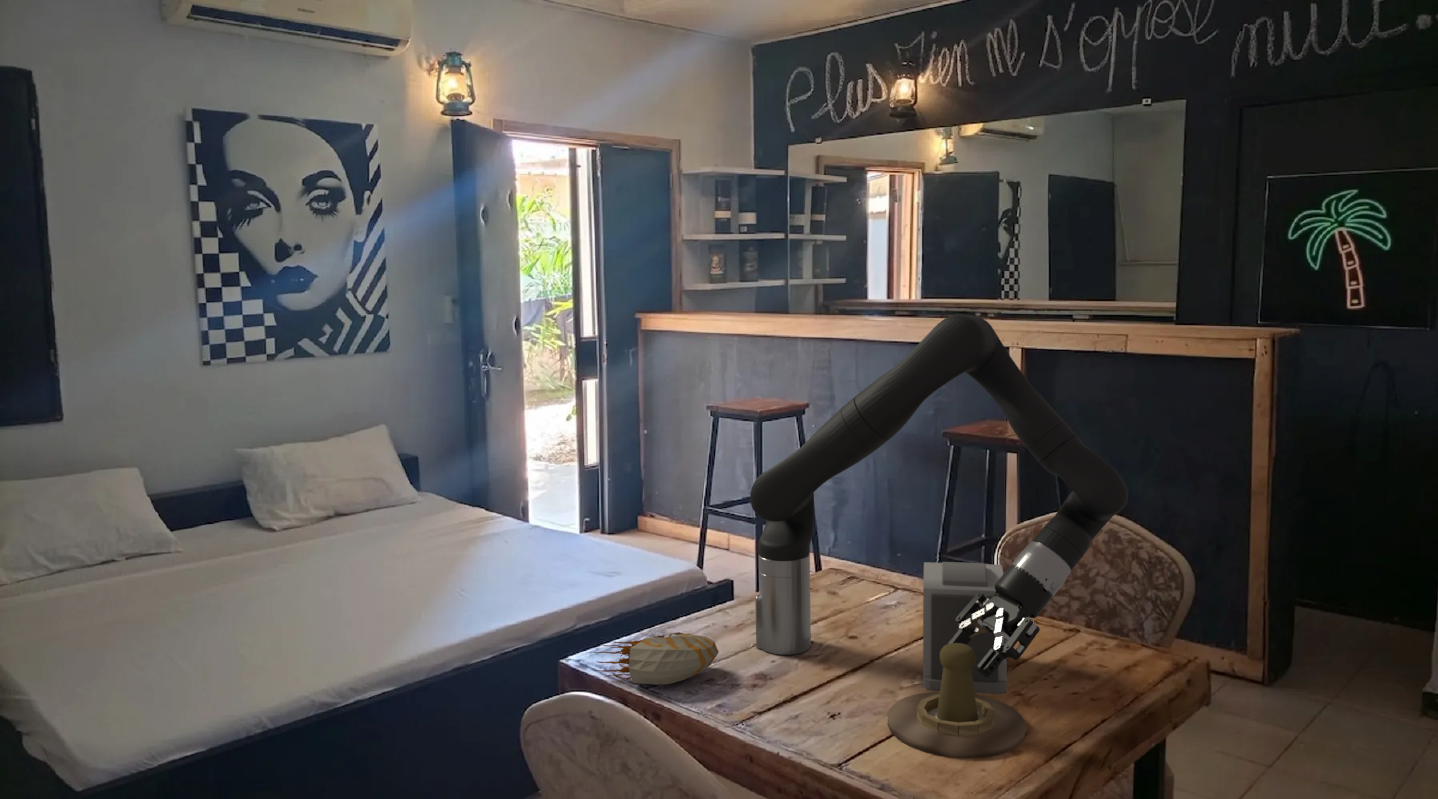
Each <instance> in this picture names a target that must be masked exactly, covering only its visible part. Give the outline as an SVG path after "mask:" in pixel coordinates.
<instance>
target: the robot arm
mask: <svg viewBox="0 0 1438 799" xmlns="http://www.w3.org/2000/svg"><path fill="white" fill-rule="evenodd" d="M964 373H966V374H968V375H969V376H970V377H971V378H973V380H974V381H976V382H977V384H978V385H979V384H980V386H981V387H983V389H984V390H985V391H986V392H987V393H988V394H989V395H990V397H991V399H993V401H994V402H995V403H996V405H997V406H998V408H1000V411H1001V412H1002V414H1003V415H1004V417H1005V419H1006V420H1007V422H1008V424H1009V426H1010V427H1011V429H1012V430H1013V432H1014V433H1015V435H1016V436H1017V438H1018V439H1019V440H1020V442H1021V443H1022V444H1023V445H1024V447H1025V448H1026V449H1027V450H1028V451H1029V453H1030V454H1031V455H1032V456H1033V457H1034V459H1036V461H1037V462H1038V463H1039V464H1040V465H1041V467H1043V469H1044V470H1046V471H1047V473H1049V474H1051V475H1053V476H1058V477H1059V478H1060V479H1061V480H1062V481H1063V482H1064V483H1065V484H1066V485H1067V486H1068V487H1069V488H1070V489H1071V490H1072V491H1071V492H1070V493H1069V495H1068V496H1067V497H1066V499H1065V501H1064V502H1063V503H1062V505H1061V506H1060V508H1058V510H1057V512H1056V514H1055V515H1054V516H1053V517H1051V519H1050V520H1049V521H1048V522H1047V523H1045V525H1044V526H1043V527H1042V528H1041V530H1040V531H1039V533H1037V534H1036V536H1035V537H1034V539H1033V540H1032V541H1031V542H1030V543H1029V544H1028V545H1027V546H1026V547H1025V548H1024V549H1022V551H1020V553H1019V554H1018V555H1017V557H1016V558H1015V559H1014V561H1012V563H1011V564H1010V565H1009V566H1008V568H1007V569H1006V570H1005V571H1004V572H1003V575H1002V577H1001V578H1000V579H999V580H998V581H997V583H996V584H995V590H996V594H995V595H994V596H993V597H992V598H990V599H988V598H987V597H986V596H985V595H984V594H983V593H982V592H978V593H977V594H976V595H975V597H974V598H973V599H972V600H971V601H970V602H969V603H968V605H967V606H966V607H965V608H964V609H963V610H962V611H961V613H960V614H959V615H958V616H957V617H956V621H957V622H958V624H959V630H958V632H957V633H956V634H955V635H954V636H953V638H952V639H951V640H950V641H949V643H948V644H950V643H961V644H966V645H967V644H968V643H969V641H970V640H971V637H973V636H975V635H977V634H979V633H987V632H991V633H993V634H994V635H995V643H994V650H993V649H990V651H989V652H988V653H987V654H986V656H985V657H984V658H983V659H982V661H981V662H980V663H979V664H978V666H977V670H978V671H979V672H980V673H981V674H982V675H983V676H985V677H989V676H990V675H991V674H992V673H993V672H994V671H995V669H997V667H998V666H999V665H1000V664H1001V662H1002V661H1003V660H1004V659H1007V660H1008V659H1013V660H1014V661H1017V660H1019V659H1020V658H1021V656H1022V655H1023V654H1024V653H1025V651H1026V650H1027V648H1028V647H1029V646H1030V645H1031V643H1032V642H1033V640H1034V639H1035V638H1036V636H1037V634H1039V632H1040V631H1041V629H1040V626H1038V625H1037V623H1035V622H1034V620H1032V619H1035V618H1037V617H1038V616H1039V615H1040V614H1041V612H1042V611H1043V610H1044V609H1045V607H1046V606H1047V605H1048V604H1049V603H1050V601H1051V600H1052V599H1053V597H1054V596H1055V595H1056V594H1057V592H1058V591H1059V590H1060V588H1061V587H1062V586H1063V585H1064V584H1065V582H1066V580H1067V578H1068V577H1069V575H1070V573H1071V572H1072V570H1074V568H1075V567H1076V566H1077V564H1078V563H1079V562H1080V561H1081V559H1082V558H1083V557H1084V556H1085V554H1086V553H1087V551H1088V549H1089V548H1090V546H1091V542H1092V541H1093V539H1095V537H1096V536H1097V535H1098V534H1099V533H1100V532H1101V531H1102V529H1103V528H1104V527H1105V526H1106V525H1107V523H1108V522H1109V521H1111V519H1112V518H1113V517H1114V516H1116V515H1117V514H1118V513H1120V512H1121V511H1122V510H1124V508H1125V507H1126V505H1127V503H1128V500H1129V490H1128V487H1127V485H1126V483H1125V481H1124V479H1123V478H1122V476H1121V475H1120V474H1119V472H1117V470H1116V469H1115V468H1113V467H1112V466H1111V465H1110V463H1108V462H1107V461H1106V460H1105V459H1103V458H1102V456H1100V455H1099V454H1097V453H1096V452H1095V451H1093V449H1091V448H1089V447H1088V446H1087V445H1085V444H1084V442H1083V441H1082V440H1081V439H1080V437H1079V436H1078V435H1077V434H1076V433H1075V432H1074V430H1073V429H1072V428H1071V427H1070V426H1069V425H1068V424H1067V423H1066V421H1064V419H1063V418H1062V417H1061V416H1060V415H1059V414H1058V412H1057V411H1056V410H1054V408H1053V407H1052V406H1051V405H1050V404H1049V403H1048V402H1047V401H1046V399H1045V398H1044V397H1043V396H1042V395H1041V394H1040V393H1039V392H1038V390H1037V389H1036V388H1035V387H1034V386H1033V384H1031V383H1030V381H1029V380H1028V379H1027V378H1026V376H1025V375H1024V373H1023V372H1022V371H1021V369H1020V368H1019V367H1018V365H1017V364H1016V362H1015V361H1014V359H1013V358H1012V356H1011V355H1010V354H1009V352H1008V350H1007V349H1006V347H1005V345H1004V343H1002V341H1001V339H1000V337H999V336H998V334H997V333H996V331H995V329H994V327H993V326H992V325H991V324H990V323H989V322H988V321H987V320H986V319H983V318H982V317H980V316H978V315H972V314H964V313H963V314H953V315H949V316H948V317H946V318H943V319H942V320H941V321H940V322H938V323H937V324H936V325H935V326H934V327H933V328H932V329H931V330H930V331H929V332H928V334H926V336H925V337H923V339H922V340H921V341H920V342H919V343H918V344H917V345H916V346H915V347H914V348H913V349H912V350H911V351H910V352H909V353H908V354H907V355H906V356H905V357H904V358H903V359H902V360H901V361H900V362H899V363H897V364H896V365H894V367H892V368H890V370H888V371H886V372H885V373H884V374H882V375H881V376H879V377H878V378H877V379H875V380H874V381H872V383H870V384H869V385H868V386H866V388H865V387H864V389H863V390H861V391H860V392H859V393H858V394H856V395H855V396H854V397H853V398H851V399H850V400H849V401H848V402H847V403H845V405H843V406H842V407H841V408H840V409H839V410H837V412H835V414H833V415H832V416H831V417H830V418H829V419H828V420H827V421H826V422H825V423H824V424H823V425H821V427H819V428H818V430H816V431H815V432H814V433H813V434H812V435H811V437H809V439H808V440H806V442H805V443H804V444H803V445H802V446H801V447H800V448H798V449H797V450H795V452H793V453H791V454H790V455H789V456H788V457H786V458H785V459H783V460H782V461H780V462H778V464H775V465H773V467H771V468H769V469H768V470H766V471H764V472H763V473H760V474H759V476H758V477H757V478H756V479H755V481H754V482H753V484H752V486H751V488H750V489H751V490H750V493H749V495H750V496H749V500H750V505H751V508H752V510H753V512H754V513H755V514H756V515H757V516H758V517H759V518H761V519H762V520H765V526H764V529H763V531H762V533H761V535H760V537H759V540H758V544H757V546H758V548H757V550H758V583H759V585H758V589H759V590H758V591H759V593H758V595H756V596H755V601H754V602H755V604H754V605H755V644H756V646H755V647H756V649H761V650H763V651H765V652H767V653H770V654H773V655H774V654H775V655H787V656H789V655H798V654H802V653H804V652H806V651H808V650H810V648H811V647H812V643H811V642H812V639H811V638H812V628H811V626H812V624H811V618H812V617H811V611H812V610H811V555H810V551H811V550H810V548H811V542H812V538H813V534H814V522H815V521H814V519H815V516H814V514H815V491H817V490H818V489H819V488H821V486H823V485H824V484H825V483H827V482H828V481H829V480H830V479H833V478H834V477H836V476H837V475H838V474H841V473H842V472H844V471H846V470H848V469H850V468H851V467H853V466H854V465H856V464H858V463H860V462H861V461H862V460H864V459H865V458H867V457H868V456H869V455H871V454H872V453H874V452H875V451H877V450H878V449H880V448H881V447H882V446H883V445H884V444H886V443H887V442H888V441H890V440H891V439H892V438H893V437H894V436H895V435H896V434H898V433H899V432H900V430H901V429H903V428H904V426H905V425H906V424H907V423H908V422H909V420H910V419H911V418H912V417H913V416H914V414H915V412H916V411H917V410H918V409H919V408H920V406H921V405H922V403H923V402H924V401H925V400H926V399H928V398H929V397H930V396H931V395H932V394H934V393H935V392H936V391H938V390H939V389H941V388H942V387H943V386H945V385H946V384H948V383H950V381H952V380H953V379H955V378H957V377H959V376H960V375H962V374H964ZM969 613H971V617H970V618H969V619H967V620H966V619H965V618H966V617H967V615H968V614H969ZM981 618H982V621H981V620H980V619H981ZM973 625H975V626H976V627H974V628H972V626H973ZM1017 643H1019V644H1018V646H1017V647H1016V648H1015V646H1016V644H1017Z"/></svg>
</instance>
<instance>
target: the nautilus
mask: <svg viewBox="0 0 1438 799" xmlns="http://www.w3.org/2000/svg"><path fill="white" fill-rule="evenodd" d="M618 644H626V645H618ZM629 644H630V645H629ZM602 646H603V647H609V648H611V649H620V650H618V651H593V652H592V653H593V654H612V655H613V654H615V655H617V654H619V655H620V656H619V657H622V656H626V657H627V658H626V657H624V658H619V660H618V661H611V660H610V661H595V662H596V663H599V664H618V665H619V666H621V669H618V668H617V669H608V670H606V669H602V670H600V669H592V671H595V672H602V673H603V672H612V674H608V675H604V676H603V678H606V677H610V676H613V677H617V678H620V679H619V680H618V681H616V683H619V682H624V681H632V684H645V685H656V686H658V685H660V684H661V685H669V684H673V683H677V682H681V681H684V680H686V679H689V678H690V677H693V676H695V675H698V674H701V673H702V672H703V671H704V670H706V669H708V668H709V667H710V666H711V665H712V663H713V662H714V660H715V659H716V658H717V656H718V654H719V649H718V647H717V645H716V643H715V640H713V639H711V638H709V637H707V636H703V635H697V634H693V633H689V632H686V633H683V632H681V631H677V632H670V633H667V634H662V635H657V636H649V637H645V638H642V639H640V640H633V641H632V640H631V641H612V642H611V644H610V645H607V644H602ZM623 664H626V665H628V666H622V665H623ZM615 673H618V674H615ZM622 675H623V676H627V677H622ZM621 679H622V680H621Z"/></svg>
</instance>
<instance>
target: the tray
mask: <svg viewBox="0 0 1438 799" xmlns="http://www.w3.org/2000/svg"><path fill="white" fill-rule="evenodd" d="M939 695H940V691H937V690H935V691H927V692H921V693H916V694H912V695H908V696H905V697H903V698H900V699H899V700H897V701H896V702H895V703H893V704H892V705H891V706H890V708H889V709H888V712H887V727H888V729H889V731H890V733H891V734H892V735H893V737H895V738H896V739H897V740H898V741H900V742H901V743H903V744H905V745H907V746H909V747H911V748H913V749H915V750H918V751H922V752H925V753H928V754H930V755H931V754H932V755H937V756H941V757H948V758H949V757H950V758H959V759H962V758H965V759H974V758H975V759H976V758H985V757H986V758H987V757H992V756H998V755H1002V754H1004V753H1005V754H1006V753H1007V752H1010V751H1012V750H1014V749H1016V748H1017V747H1019V745H1021V744H1022V743H1023V741H1024V739H1025V737H1026V730H1027V728H1026V727H1027V726H1026V721H1025V719H1024V717H1023V715H1022V714H1021V713H1020V712H1019V711H1018V710H1017V709H1016V708H1014V707H1012V706H1011V705H1008V704H1007V703H1005V702H1003V701H1000V700H999V699H996V698H992V697H990V696H985V695H981V694H978V693H975V699H976V707H977V715H978V720H976V721H974V722H960V723H957V722H951V721H944V720H940V719H938V717H937V709H938V702H939Z"/></svg>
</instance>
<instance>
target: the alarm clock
mask: <svg viewBox="0 0 1438 799" xmlns="http://www.w3.org/2000/svg"><path fill="white" fill-rule="evenodd" d="M1003 574H1004V570H1003V566H1002V564H986V563H984V562H959V561H957V562H955V561H942V562H927V561H925V562H923V588H922V589H923V591H922V592H923V593H922V594H923V595H922V596H923V598H922V599H923V600H922V601H923V604H922V605H923V606H922V612H923V613H922V619H923V620H922V621H923V622H922V623H923V624H922V643H923V644H922V662H923V663H922V680H923V681H922V687H923V688H924V689H925V690H928V691H940V688H941V681H942V674H943V666H942V664H941V662H940V651H941V649H942V648H943V646H945V645H947V644H948V643H949V641H950V640H951V639H952V638H953V636H954V635H955V634H956V633H957V632H958V630H959V624H958V622H957V621H956V617H957V616H958V615H959V614H960V613H961V611H962V610H963V609H964V608H965V607H966V606H967V605H968V603H969V602H970V601H971V600H972V599H973V598H974V597H975V595H976V594H977V593H978V592H982V593H983V594H984V595H985V596H986V597H987V598H988V599H990V598H992V597H993V596H994V595H995V594H996V590H995V584H996V583H997V581H998V580H999V579H1000V578H1001V577H1002V575H1003ZM970 617H971V613H969V614H968V615H967V617H966V618H965V619H966V620H967V619H969V618H970ZM980 620H981V621H982V618H981V619H980ZM974 627H976V626H975V625H973V626H972V628H974ZM994 643H995V635H994V634H993V633H991V632H987V633H979V634H977V635H975V636H973V637H971V640H970V641H969V643H968V644H967V645H968V646H970V647H971V648H972V649H973V650H974V652H975V657H976V660H975V665H974V666H973V667H972V676H973V684H974V692H975V694H990V695H1003V694H1006V693H1007V690H1008V688H1007V687H1008V686H1007V685H1008V682H1007V674H1008V673H1007V670H1008V669H1007V668H1008V666H1007V664H1008V661H1007V660H1008V659H1004V660H1003V661H1002V662H1001V664H1000V665H999V666H998V667H997V669H995V671H994V672H993V673H992V674H991V675H990V676H989V677H985V676H983V675H982V674H981V673H980V672H979V671H978V670H977V666H978V664H979V663H980V662H981V661H982V659H983V658H984V657H985V656H986V654H987V653H988V652H989V651H990V649H993V650H994Z"/></svg>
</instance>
